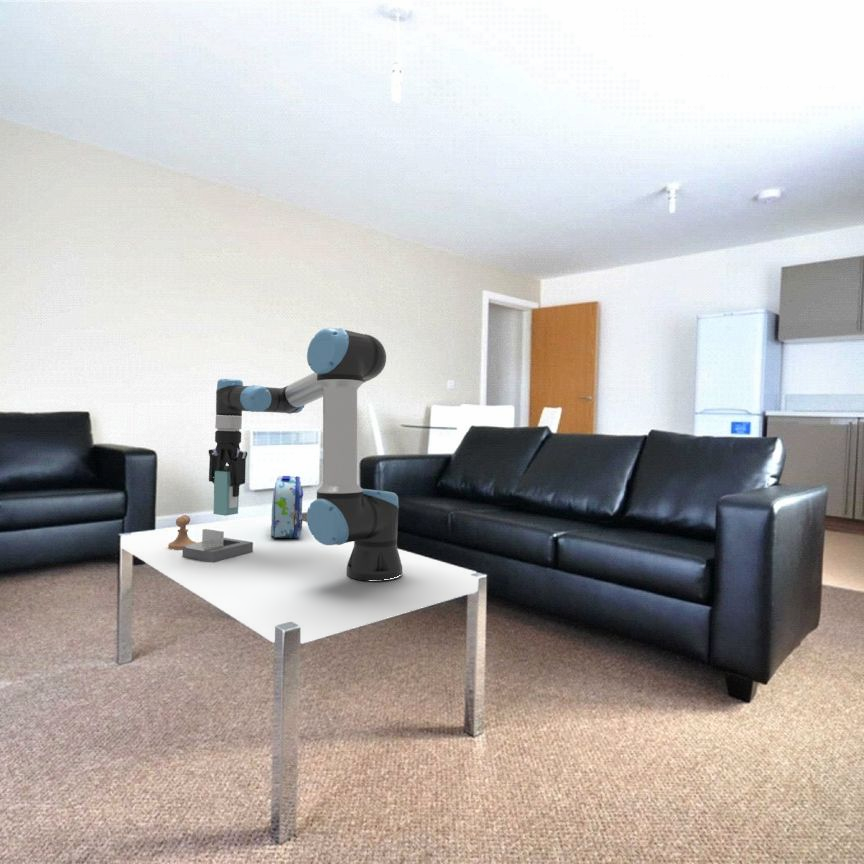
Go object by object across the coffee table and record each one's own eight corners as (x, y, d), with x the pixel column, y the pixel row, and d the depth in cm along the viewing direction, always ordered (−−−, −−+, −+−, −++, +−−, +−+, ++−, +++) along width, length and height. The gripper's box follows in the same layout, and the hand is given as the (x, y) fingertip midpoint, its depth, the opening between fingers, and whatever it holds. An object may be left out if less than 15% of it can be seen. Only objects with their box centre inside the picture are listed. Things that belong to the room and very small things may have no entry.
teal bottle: (238, 513, 178) (239, 466, 178) (225, 515, 174) (227, 466, 173) (225, 511, 180) (227, 464, 180) (213, 513, 176) (215, 465, 176)
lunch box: (302, 541, 198) (304, 479, 197) (269, 541, 195) (271, 479, 195) (300, 527, 223) (302, 472, 223) (271, 527, 220) (273, 472, 220)
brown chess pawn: (199, 514, 187) (193, 518, 179) (199, 544, 187) (192, 550, 179) (173, 513, 186) (165, 518, 178) (173, 544, 186) (164, 549, 178)
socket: (252, 551, 180) (252, 542, 179) (212, 562, 165) (213, 551, 165) (223, 546, 185) (223, 537, 185) (182, 556, 170) (182, 546, 170)
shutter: (223, 546, 172) (223, 531, 172) (204, 551, 165) (204, 535, 165) (205, 543, 175) (205, 528, 175) (185, 547, 168) (186, 532, 168)
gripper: (260, 431, 176) (257, 507, 176) (215, 428, 184) (213, 502, 184) (242, 431, 169) (239, 511, 170) (197, 428, 177) (194, 504, 177)
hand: (225, 506), depth 177 cm, fingers closed on teal bottle, 5 cm apart
